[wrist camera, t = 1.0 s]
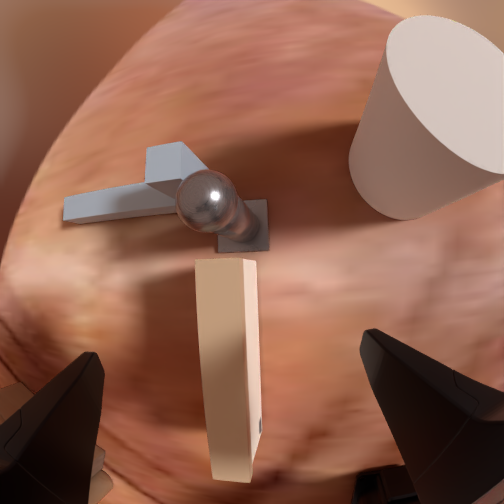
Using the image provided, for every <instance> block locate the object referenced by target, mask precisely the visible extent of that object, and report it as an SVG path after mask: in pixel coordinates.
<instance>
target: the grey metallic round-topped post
mask: <svg viewBox="0 0 504 504" xmlns="http://www.w3.org/2000/svg"><path fill="white" fill-rule="evenodd" d="M175 207H176V211H177V214H178V216H179V218H180V219H181V221H182V222H183V223H184V224H185V225H186V226H188V227H189V228H191V229H193V230H195V231H198V232H213V233H215V234H218V253H225V252H246V251H268V250H269V231H268V209H267V199H260V200H246V201H243V200H242V199H241V198H240V197H239V196H238V195H237V191H236V188H235V186H234V184H233V183H232V181H231V180H230V179H229V178H228V177H227V176H225V175H224V174H222V173H221V172H218V171H215V170H209V169H206V170H199V171H195V172H193V173H191V174H190V175H188V176H187V177H186V178H185V179H184V180H183V181H182V182H181V183H180V185H179V187H178V189H177V192H176V195H175Z"/></svg>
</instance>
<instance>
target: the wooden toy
mask: <svg viewBox="0 0 504 504" xmlns="http://www.w3.org/2000/svg"><path fill="white" fill-rule="evenodd" d="M33 396H34V394H33V393H32V392H31V391H30V390H29V389H27V388H26V387H25V386H24V385H23V384H22V383H21V382H19V383H16V384H13V385H10V386H7V387H4V388H1V389H0V424H2V423H3V422H4V421H5V420H7V419H8V418H9V417H10V416H11V415H12V414H14V413H15V412H16V411H17V410H18V409H19V408H20V409H21V406H23V405H24V404H25V403H26V402H27V401H28V400H29V399H30V398H32V397H33ZM104 456H105V451H104V450H103V449H101V448H100V447H99V446H97V445H96V446H95V452H94V459H93V466H92V474H91V482H90V491H89V501H88V504H97V503H98V502H99V501H100V500H101V499H102V498H103V497H104V496H105V495H106V494H107V493H108V492H109V491H110V490H111V489H112V488H113V482H112V480H111V478H110V477H109V476H108V475H107V474H106V473H105V472H104V471H102V470H101V469H102V468H103V462H104Z"/></svg>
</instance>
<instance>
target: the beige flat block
mask: <svg viewBox="0 0 504 504" xmlns="http://www.w3.org/2000/svg"><path fill="white" fill-rule="evenodd" d="M195 281H196V304H197V322H198V338H199V353H200V366H201V378H202V389H203V400H204V410H205V419H206V428H207V437H208V445H209V453H210V461H211V468H212V476H213V479H216V480H224V481H234V482H245V483H250V481H251V478H252V474H253V470H252V463H253V460H254V456H255V453H256V449H257V446H258V443H259V439H260V436H261V432H262V412H261V383H260V354H259V326H258V298H257V271H256V261H254V260H247V259H243V258H218V259H195Z"/></svg>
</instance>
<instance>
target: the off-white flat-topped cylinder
mask: <svg viewBox="0 0 504 504" xmlns="http://www.w3.org/2000/svg"><path fill="white" fill-rule="evenodd" d="M349 170H350V174H351V178H352V180H353V183H354V185H355V187H356V189H357V191H358V192H359V194H360V195H361V196H362V198H363V199H364V200H365V201H366V202H367V203H368V204H369V205H370V206H371V207H372V208H374V209H375V210H376V211H378V212H380V213H381V214H383V215H385V216H388V217H390V218H394V219H399V220H413V219H417V218H420V217H423V216H425V215H427V214H430V213H432V212H434V211H436V210H439V209H441V208H443V207H445V206H447V205H450V204H452V203H454V202H456V201H458V200H461V199H463V198H465V197H467V196H469V195H472V194H474V193H476V192H478V191H480V190H482V189H484V188H487V187H489V186H491V185H493V184H495V183H497V182H499V181H501V180H503V179H504V54H503V53H502V52H501V51H500V50H499V49H498V48H497V47H496V46H495V45H494V44H493V43H491V42H490V41H489V40H488V39H486V38H485V37H483V36H482V35H481V34H479V33H478V32H476V31H474V30H472V29H471V28H469V27H467V26H465V25H463V24H460V23H458V22H456V21H453V20H450V19H446V18H442V17H437V16H415V17H411V18H408V19H405V20H403V21H401V22H400V23H398V24H397V25H396V26H395V27H394V28H393V30H392V31H391V33H390V35H389V37H388V40H387V44H386V47H385V50H384V53H383V56H382V59H381V62H380V65H379V68H378V71H377V74H376V77H375V80H374V83H373V86H372V89H371V92H370V95H369V98H368V101H367V103H366V106H365V109H364V112H363V115H362V117H361V120H360V123H359V126H358V128H357V131H356V134H355V136H354V139H353V142H352V145H351V148H350V152H349Z"/></svg>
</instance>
